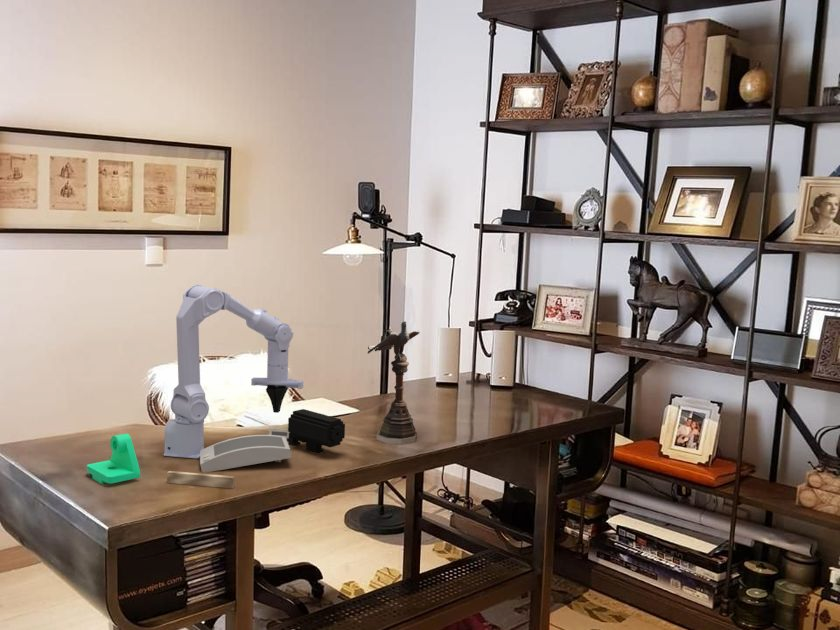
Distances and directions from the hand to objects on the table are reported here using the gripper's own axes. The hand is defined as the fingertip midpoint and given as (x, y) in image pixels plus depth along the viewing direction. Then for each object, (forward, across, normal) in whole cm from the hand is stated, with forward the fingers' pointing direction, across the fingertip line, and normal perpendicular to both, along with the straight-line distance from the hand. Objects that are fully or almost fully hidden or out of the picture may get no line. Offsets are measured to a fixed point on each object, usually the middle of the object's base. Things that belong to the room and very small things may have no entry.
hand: (276, 411), depth 238 cm
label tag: (+7, -2, +4) cm, 8 cm away
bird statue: (+8, -31, -9) cm, 33 cm away
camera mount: (+8, +27, +43) cm, 51 cm away
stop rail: (+7, +5, +43) cm, 44 cm away
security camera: (+8, -13, +9) cm, 18 cm away
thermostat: (+8, +1, +25) cm, 26 cm away
